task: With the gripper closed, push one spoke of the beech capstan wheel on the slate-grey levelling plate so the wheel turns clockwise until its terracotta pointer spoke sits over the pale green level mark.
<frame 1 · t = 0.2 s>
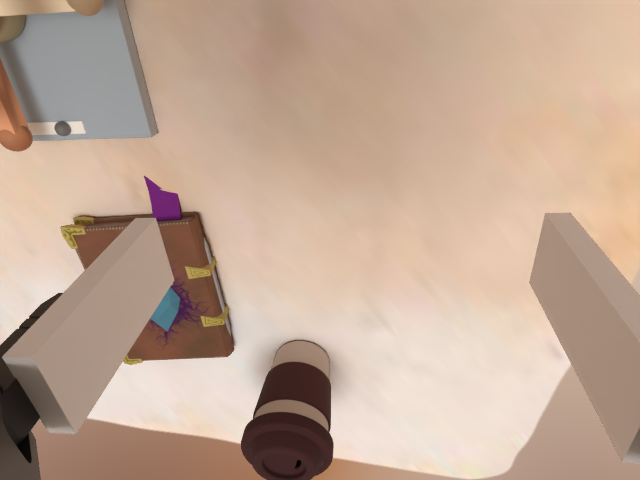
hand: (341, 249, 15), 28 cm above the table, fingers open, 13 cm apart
coffee cup: (303, 357, 58), on the table
book: (156, 268, 53), on the table
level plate: (4, 1, 38), on the table
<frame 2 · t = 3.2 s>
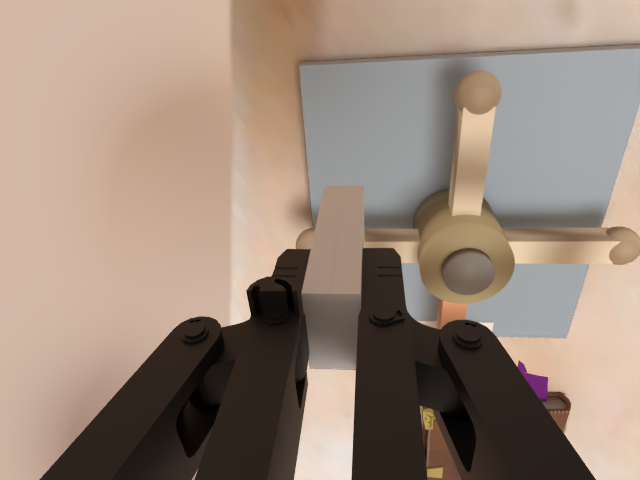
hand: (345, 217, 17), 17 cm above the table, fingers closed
book: (477, 431, 50), on the table
capstan: (459, 247, 31), point 5 cm above the table, hinge at 0.0°
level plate: (449, 212, 35), on the table
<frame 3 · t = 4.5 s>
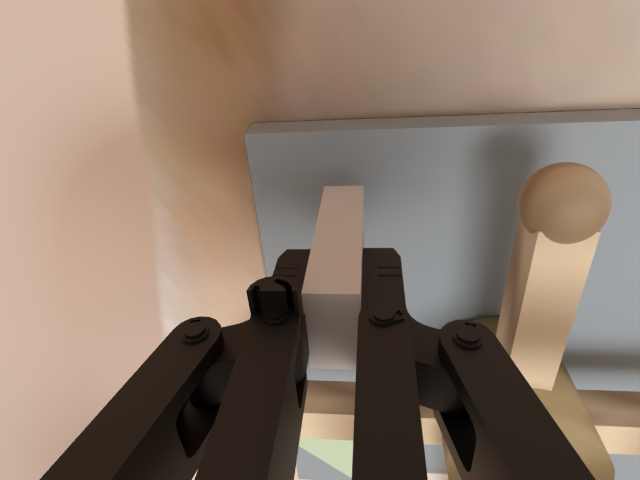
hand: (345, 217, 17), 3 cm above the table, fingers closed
capstan: (510, 421, 19), point 5 cm above the table, hinge at 0.0°
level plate: (484, 336, 23), on the table
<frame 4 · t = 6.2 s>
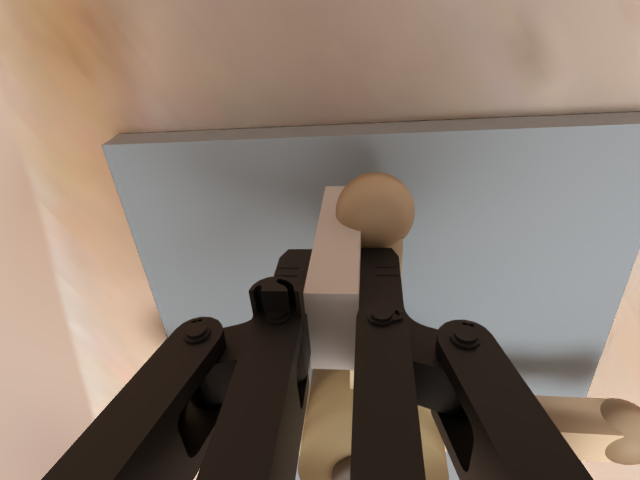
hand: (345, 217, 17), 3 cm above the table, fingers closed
capstan: (372, 420, 20), point 5 cm above the table, hinge at -1.2°, touching gripper
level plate: (372, 338, 24), on the table
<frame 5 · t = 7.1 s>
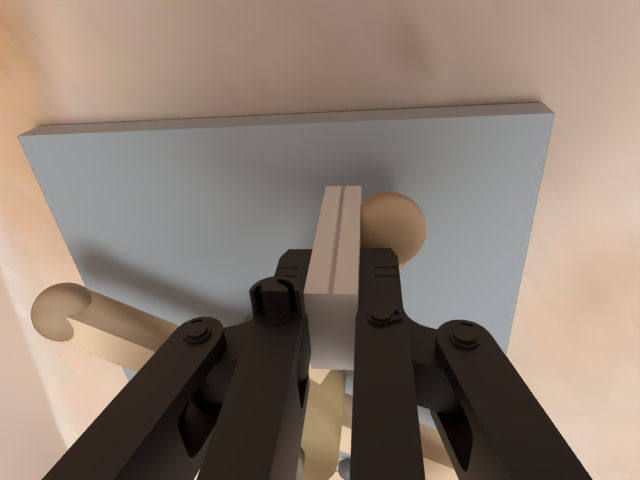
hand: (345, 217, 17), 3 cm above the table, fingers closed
capstan: (280, 400, 20), point 5 cm above the table, hinge at -28.7°, touching gripper
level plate: (298, 324, 25), on the table
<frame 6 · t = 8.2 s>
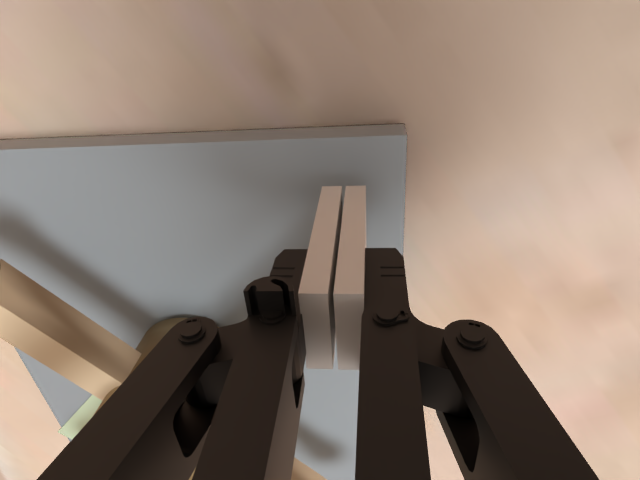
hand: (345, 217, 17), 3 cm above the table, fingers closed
capstan: (170, 412, 21), point 5 cm above the table, hinge at -49.0°, touching gripper
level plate: (206, 336, 25), on the table
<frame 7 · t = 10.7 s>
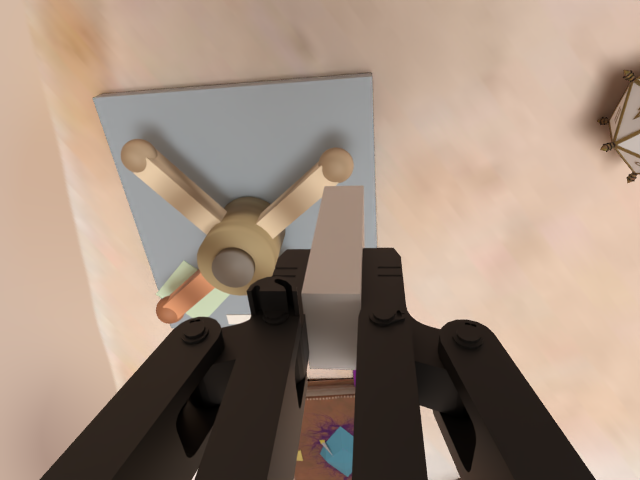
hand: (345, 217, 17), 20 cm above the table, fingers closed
book: (337, 417, 55), on the table
capstan: (243, 247, 36), point 5 cm above the table, hinge at -51.0°
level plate: (256, 218, 40), on the table
game die: (639, 107, 33), on the table
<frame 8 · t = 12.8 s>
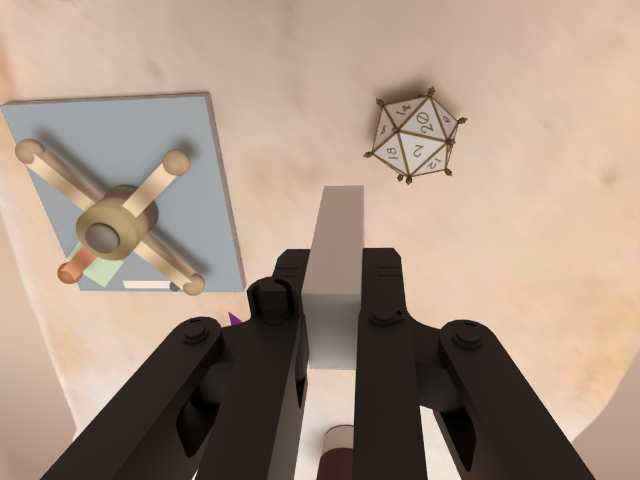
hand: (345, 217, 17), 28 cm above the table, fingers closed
coffee cup: (347, 437, 71), on the table
capstan: (117, 223, 46), point 5 cm above the table, hinge at -51.0°
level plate: (139, 202, 51), on the table
game die: (411, 124, 43), on the table
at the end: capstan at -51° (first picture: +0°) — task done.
